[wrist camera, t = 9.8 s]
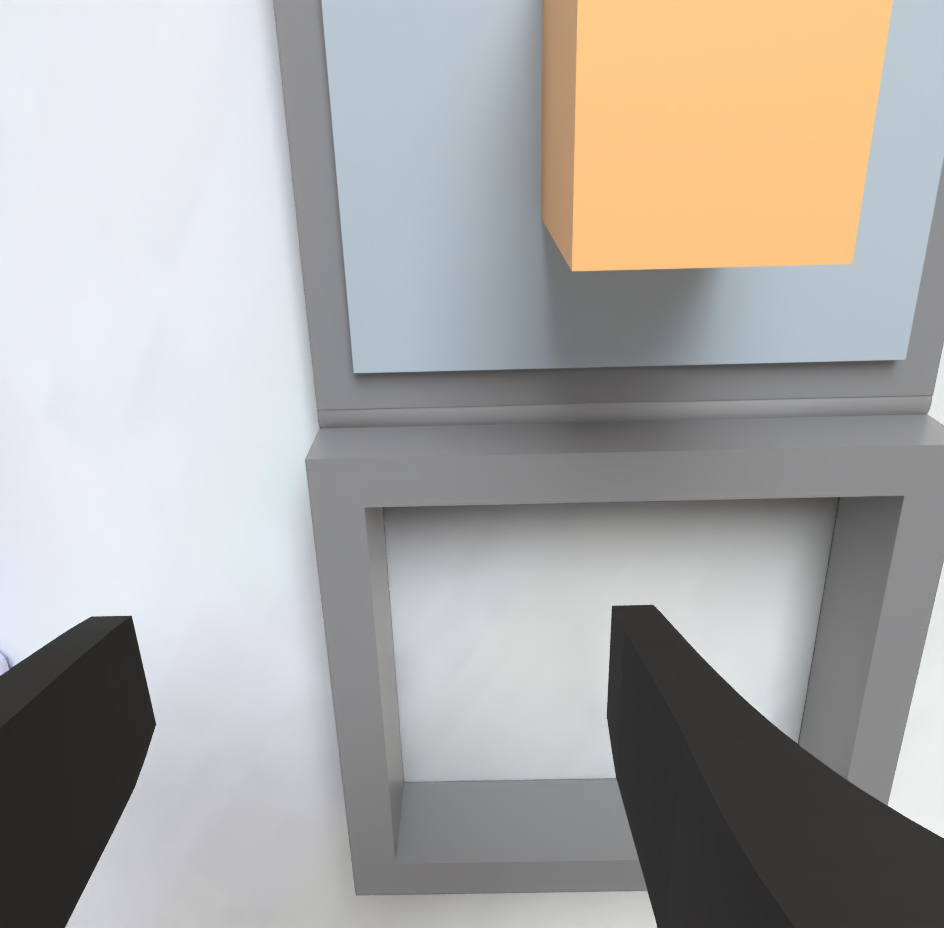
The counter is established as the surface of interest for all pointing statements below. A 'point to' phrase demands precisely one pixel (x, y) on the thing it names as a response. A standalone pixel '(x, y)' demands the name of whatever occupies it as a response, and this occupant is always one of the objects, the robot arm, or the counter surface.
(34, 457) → the counter surface
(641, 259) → the block
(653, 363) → the grey framed tray
